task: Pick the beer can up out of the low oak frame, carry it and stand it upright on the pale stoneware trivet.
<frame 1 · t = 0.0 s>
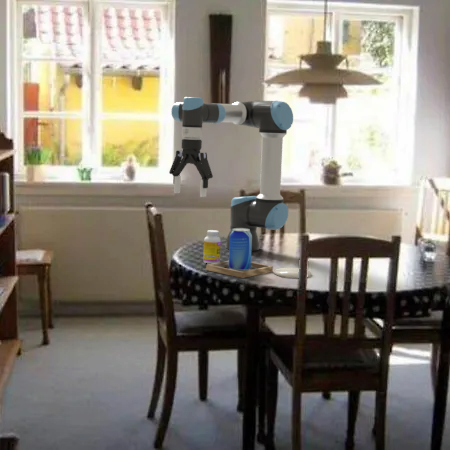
hand: (189, 195, 300), 28 cm above the table, fingers open, 13 cm apart
supplement bottle: (211, 263, 315), on the table
oak frame: (239, 270, 302), on the table
beer can: (239, 271, 302), resting in oak frame
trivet: (292, 274, 299), on the table
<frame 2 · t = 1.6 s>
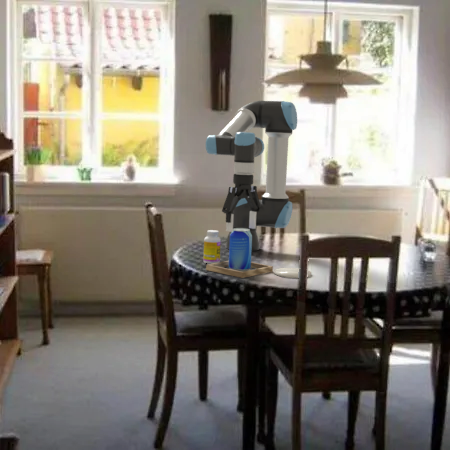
hand: (241, 229, 300), 16 cm above the table, fingers open, 13 cm apart
nothing on the table moved.
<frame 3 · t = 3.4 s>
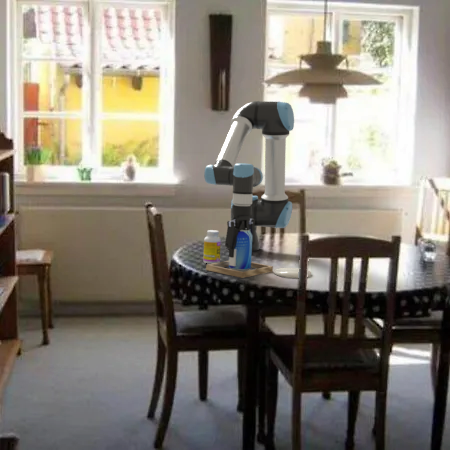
hand: (239, 264, 301), 3 cm above the table, fingers closed on beer can, 7 cm apart
beer can: (239, 271, 302), resting in oak frame, touching gripper
everything else where it was.
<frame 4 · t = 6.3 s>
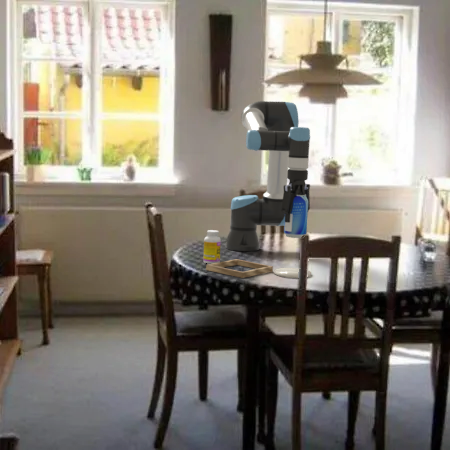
hand: (294, 229, 297), 17 cm above the table, fingers closed on beer can, 7 cm apart
beer can: (295, 237, 298), point 14 cm above the table, touching gripper
everything else where it was.
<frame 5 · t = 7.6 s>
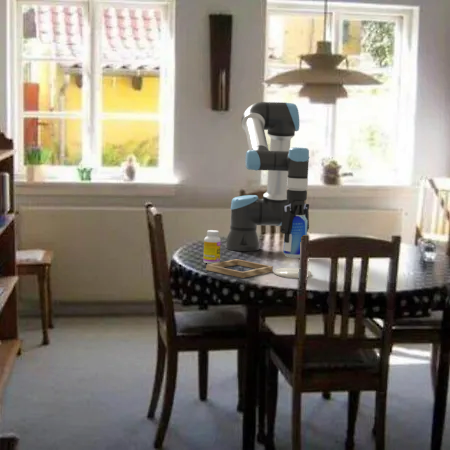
hand: (294, 249, 298), 9 cm above the table, fingers closed on beer can, 7 cm apart
beer can: (294, 256, 299), point 7 cm above the table, touching gripper
everything else where it was.
when the fingers open (5 cm above the table, at t = 8.9 s): beer can drops 1 cm, resting on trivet.
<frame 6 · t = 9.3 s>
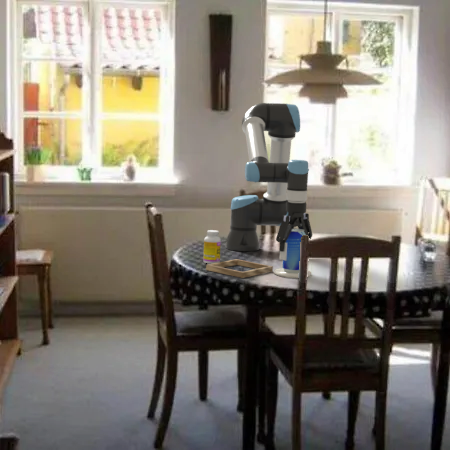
hand: (293, 257, 299), 6 cm above the table, fingers open, 13 cm apart
beer can: (293, 272, 300), point 1 cm above the table, touching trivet
everything else where it was.
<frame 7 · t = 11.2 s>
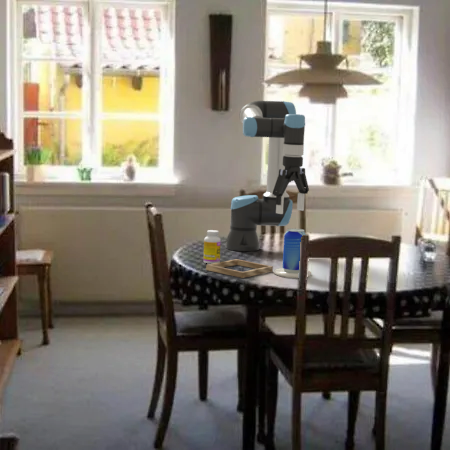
hand: (290, 212, 300), 23 cm above the table, fingers open, 13 cm apart
nothing on the table moved.
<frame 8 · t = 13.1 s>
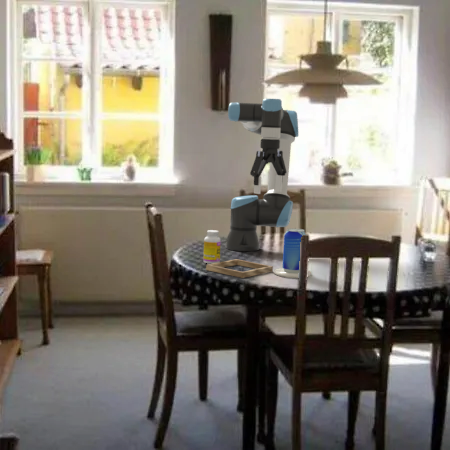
hand: (267, 192, 313), 29 cm above the table, fingers open, 13 cm apart
nothing on the table moved.
at the end: beer can 0.4 cm from the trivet (horizontally); beer can tilted 0°; the gripper is holding nothing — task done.
